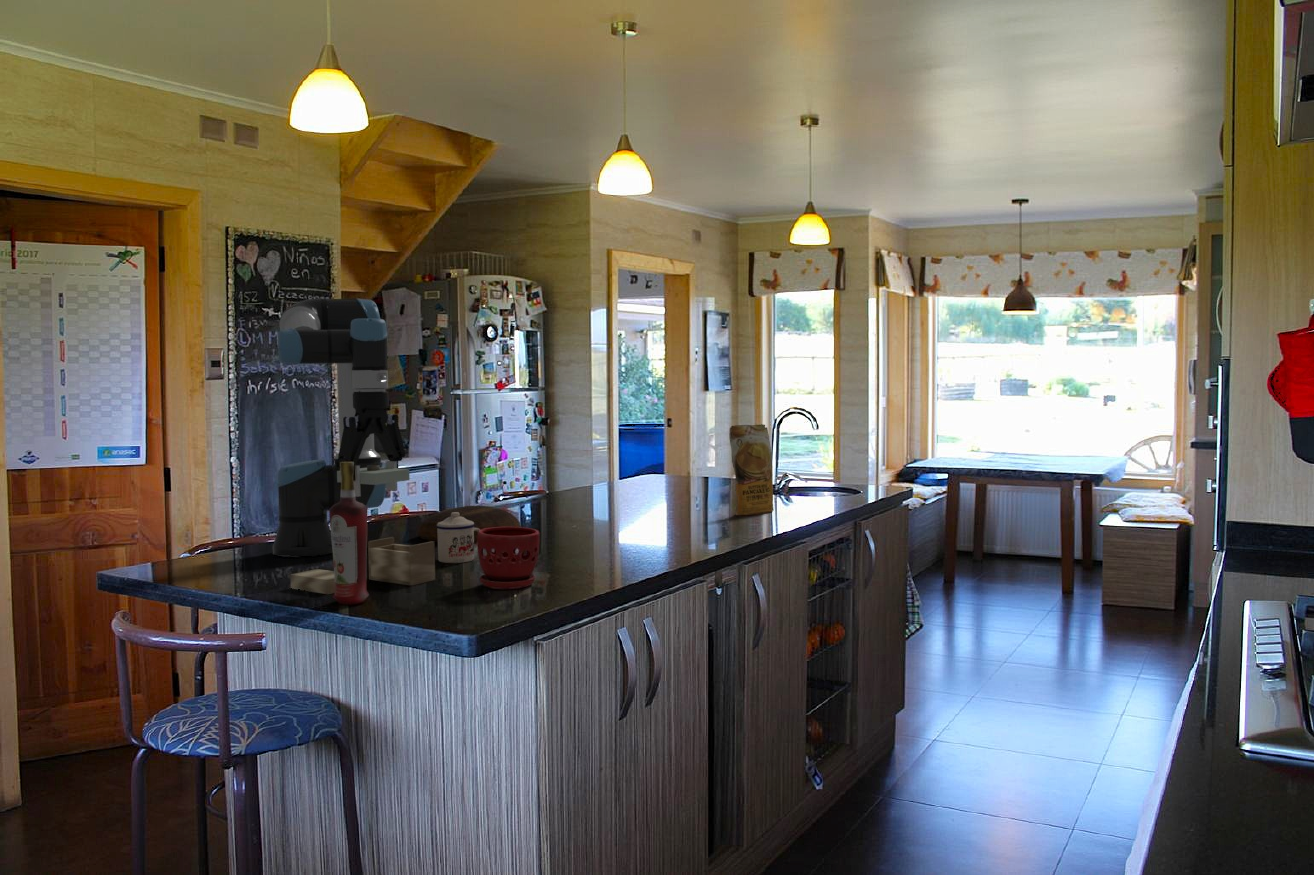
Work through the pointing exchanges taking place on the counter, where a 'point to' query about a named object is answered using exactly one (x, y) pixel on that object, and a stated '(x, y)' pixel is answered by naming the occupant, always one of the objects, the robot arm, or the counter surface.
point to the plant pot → (508, 556)
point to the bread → (476, 514)
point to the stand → (314, 581)
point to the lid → (380, 475)
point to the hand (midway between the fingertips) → (373, 493)
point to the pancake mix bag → (752, 468)
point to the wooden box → (401, 562)
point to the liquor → (349, 541)
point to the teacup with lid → (456, 539)
